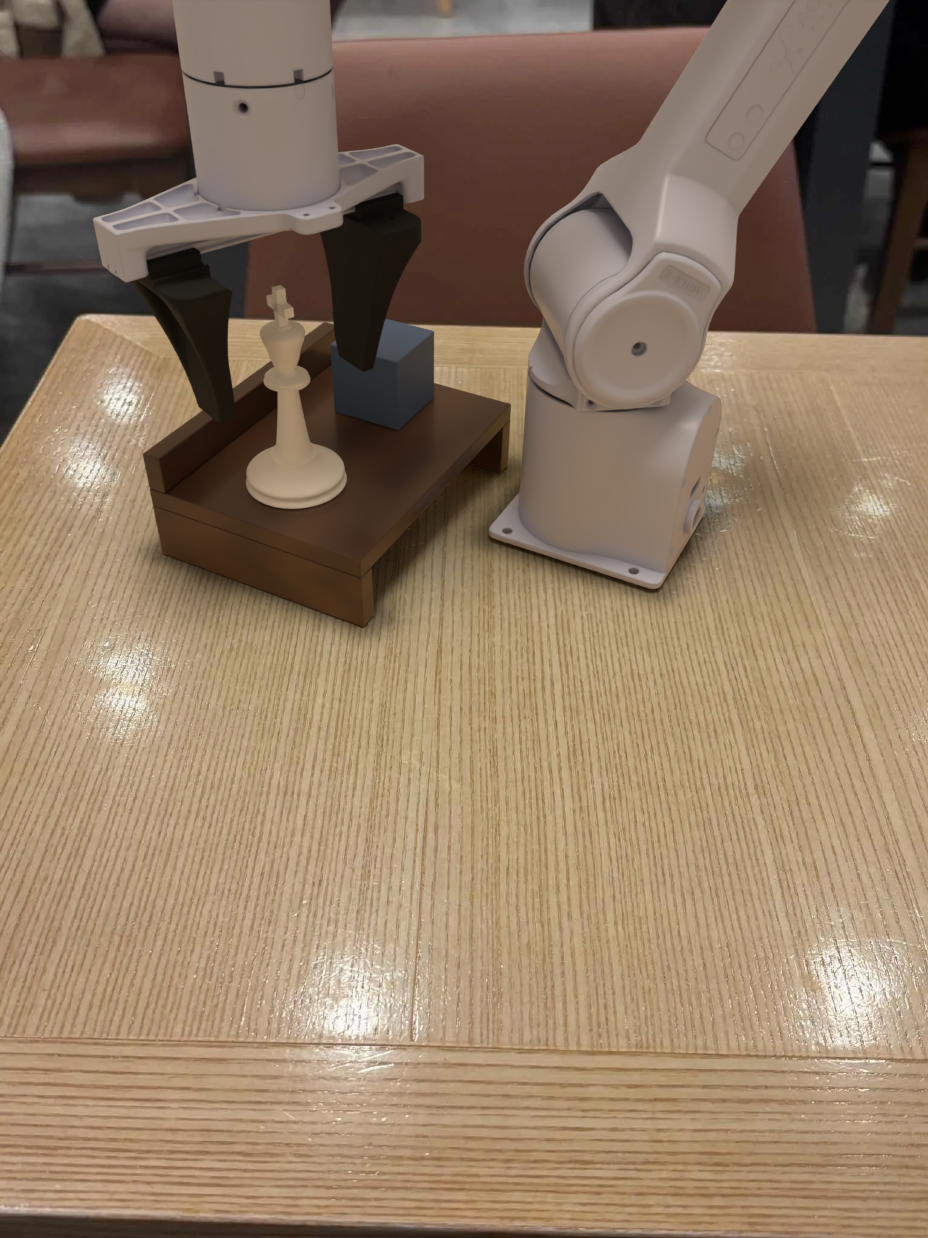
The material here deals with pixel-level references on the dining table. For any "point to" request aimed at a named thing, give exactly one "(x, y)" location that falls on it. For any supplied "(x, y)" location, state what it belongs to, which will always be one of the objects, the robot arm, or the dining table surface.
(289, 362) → the chess piece
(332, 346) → the blue box
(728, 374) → the dining table surface
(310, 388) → the shelf
